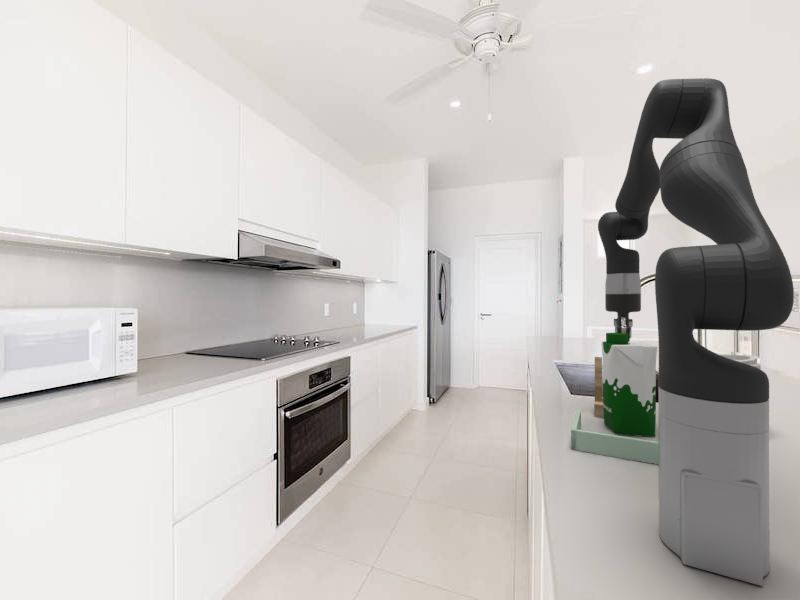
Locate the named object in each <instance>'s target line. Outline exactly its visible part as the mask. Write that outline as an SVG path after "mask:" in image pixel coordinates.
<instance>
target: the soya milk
mask: <svg viewBox="0 0 800 600" xmlns="http://www.w3.org/2000/svg"><path fill="white" fill-rule="evenodd" d="M601 353H602V354H601V355H602V356H601V357H602V397H603V411H604V418H603V423H604V424H605V425H606V426H607V428H609V429H610V430H611V431H612V432H613V433H614V435H616V434H622V435H621V436H633V435H641V436H640V437H649V436H655V437H656V425H657V424H656V421H657V419H656V418H657V416H656V415H657V414H656V413H657V410H656V408H657V407H656V406H657V405H656V403H657V400H656V399H657V397H656V396H657V394H656V393H657V390H656V389H657V388H656V387H657V383H656V381H657V377H656V376H657V370H656V369H657V368H656V367H657V356H658V355H657V354H658V346H655V345H652V344H649V343H645V342H641V341H629V342H628V334H626V333H615V332H606V333H605V340H604V341H601Z"/></svg>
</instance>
